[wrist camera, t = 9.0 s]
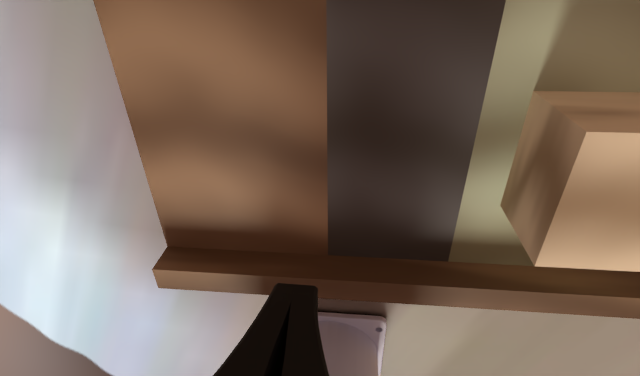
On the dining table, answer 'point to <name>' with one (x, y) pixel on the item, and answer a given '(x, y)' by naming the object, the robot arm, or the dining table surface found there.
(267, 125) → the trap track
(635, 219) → the maple block
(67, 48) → the dining table surface
